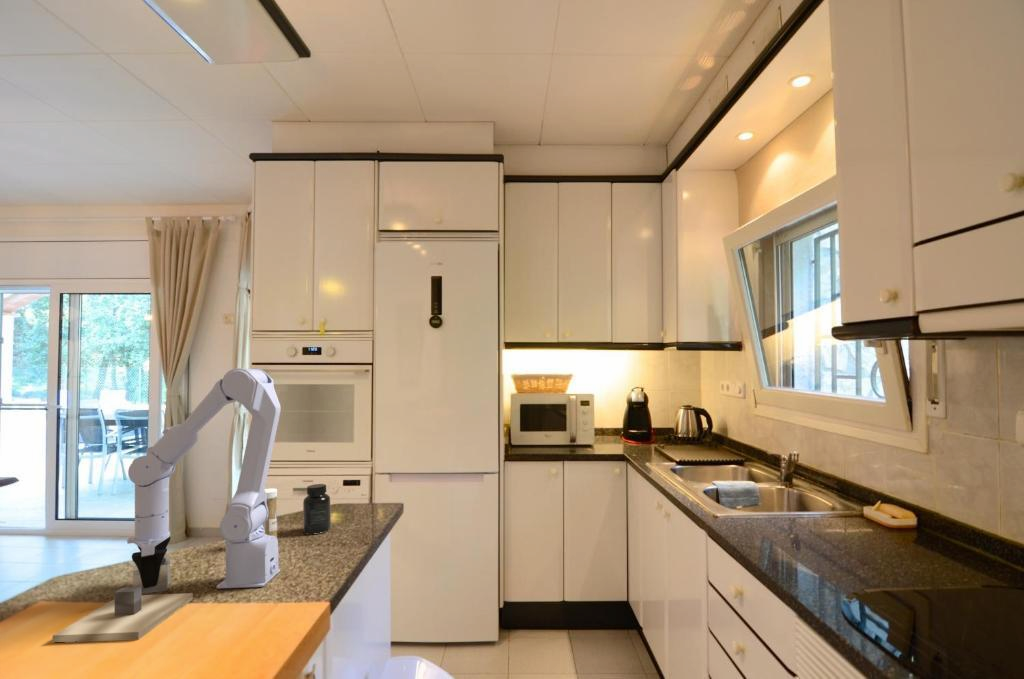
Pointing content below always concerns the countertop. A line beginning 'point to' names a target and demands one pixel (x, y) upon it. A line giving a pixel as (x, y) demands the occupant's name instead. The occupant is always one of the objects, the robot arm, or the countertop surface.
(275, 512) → the sprinkles bottle
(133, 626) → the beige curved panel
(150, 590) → the hollow square tube
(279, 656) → the countertop surface
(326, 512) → the supplement bottle
